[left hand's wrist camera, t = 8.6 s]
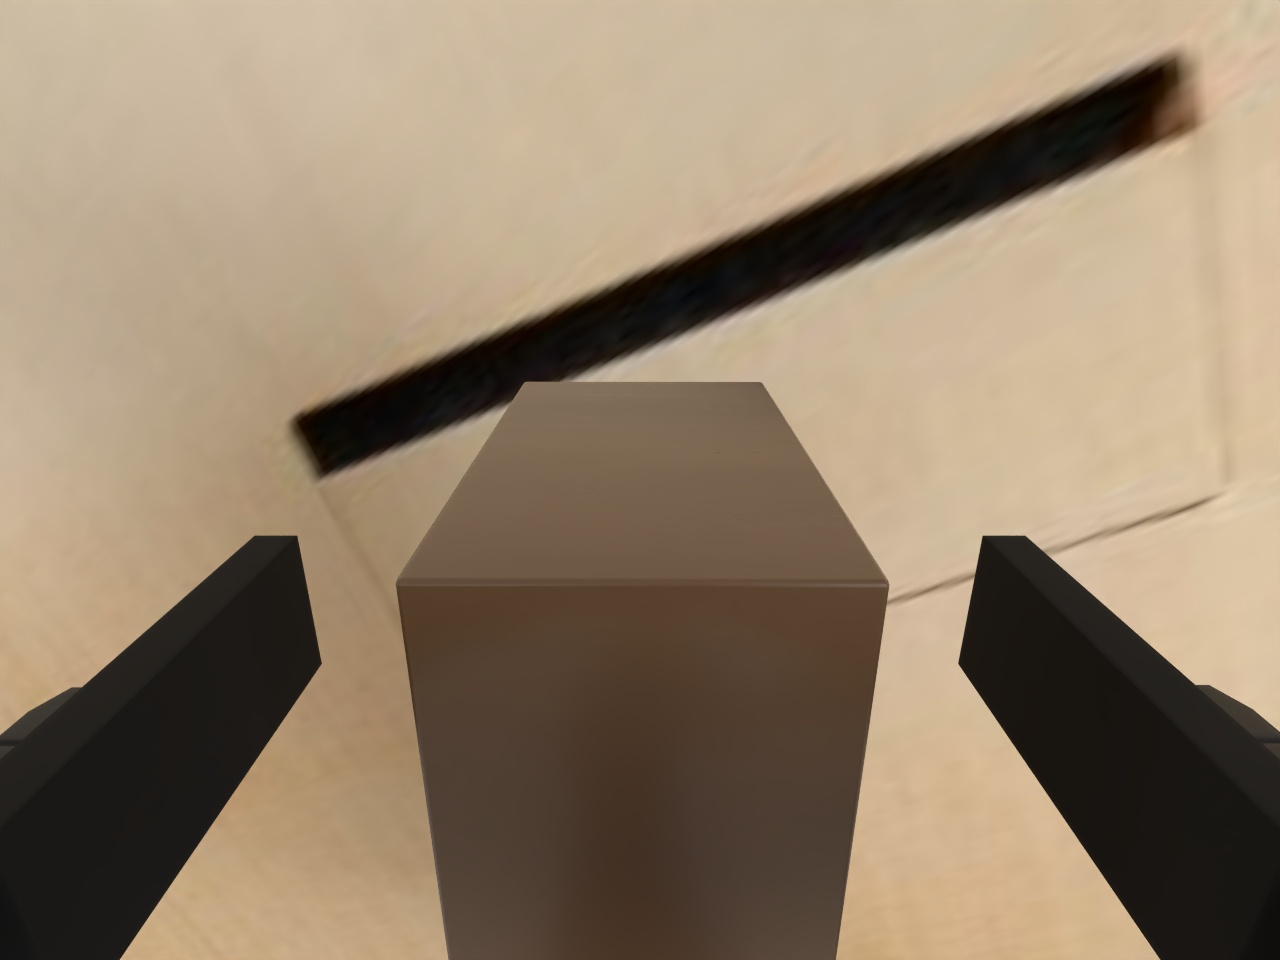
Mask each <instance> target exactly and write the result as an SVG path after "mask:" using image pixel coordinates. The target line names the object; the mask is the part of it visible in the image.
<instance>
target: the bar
mask: <svg viewBox="0 0 1280 960" xmlns="http://www.w3.org/2000/svg"><path fill="white" fill-rule="evenodd" d="M396 588H397V595H398V602H399V609H400V616H401V624H402V631H403V638H404V645H405V652H406V659H407V666H408V674H409V681H410V688H411V695H412V702H413V709H414V716H415V723H416V731H417V738H418V745H419V752H420V759H421V766H422V773H423V781H424V788H425V795H426V802H427V809H428V816H429V823H430V830H431V838H432V845H433V852H434V859H435V866H436V873H437V880H438V887H439V895H440V902H441V909H442V916H443V923H444V930H445V937H446V945H447V952H448V959H449V960H836V954H837V947H838V940H839V933H840V926H841V919H842V912H843V905H844V898H845V891H846V884H847V877H848V870H849V863H850V856H851V849H852V842H853V835H854V828H855V821H856V814H857V807H858V800H859V793H860V786H861V779H862V772H863V765H864V758H865V751H866V744H867V737H868V730H869V723H870V716H871V709H872V702H873V695H874V688H875V681H876V674H877V667H878V660H879V653H880V646H881V639H882V632H883V625H884V618H885V611H886V604H887V597H888V590H889V582H888V580H887V578H886V577H885V575H884V574H883V572H882V570H881V569H880V567H879V566H878V564H877V563H876V561H875V559H874V558H873V556H872V555H871V553H870V552H869V550H868V548H867V547H866V545H865V544H864V542H863V541H862V539H861V537H860V536H859V534H858V533H857V531H856V530H855V528H854V526H853V525H852V523H851V522H850V520H849V519H848V517H847V515H846V514H845V512H844V511H843V509H842V508H841V506H840V504H839V503H838V501H837V500H836V498H835V497H834V495H833V493H832V492H831V490H830V489H829V487H828V486H827V484H826V482H825V481H824V479H823V478H822V476H821V475H820V473H819V471H818V470H817V468H816V467H815V465H814V464H813V462H812V460H811V459H810V457H809V456H808V454H807V453H806V451H805V449H804V448H803V446H802V445H801V443H800V442H799V440H798V438H797V437H796V435H795V434H794V432H793V431H792V429H791V427H790V426H789V424H788V423H787V421H786V420H785V418H784V416H783V415H782V413H781V412H780V410H779V409H778V407H777V405H776V404H775V402H774V401H773V399H772V398H771V396H770V394H769V393H768V391H767V390H766V388H765V387H764V385H763V383H761V382H525V383H524V384H523V386H522V387H521V389H520V390H519V392H518V393H517V395H516V396H515V398H514V399H513V401H512V403H511V404H510V406H509V407H508V409H507V410H506V412H505V413H504V415H503V417H502V418H501V420H500V421H499V423H498V424H497V426H496V427H495V429H494V430H493V432H492V434H491V435H490V437H489V438H488V440H487V441H486V443H485V444H484V446H483V447H482V449H481V451H480V452H479V454H478V455H477V457H476V458H475V460H474V461H473V463H472V464H471V466H470V468H469V469H468V471H467V472H466V474H465V475H464V477H463V478H462V480H461V481H460V483H459V485H458V486H457V488H456V489H455V491H454V492H453V494H452V495H451V497H450V498H449V500H448V502H447V503H446V505H445V506H444V508H443V509H442V511H441V512H440V514H439V515H438V517H437V519H436V520H435V522H434V523H433V525H432V526H431V528H430V529H429V531H428V532H427V534H426V536H425V537H424V539H423V540H422V542H421V543H420V545H419V546H418V548H417V549H416V551H415V553H414V554H413V556H412V557H411V559H410V560H409V562H408V563H407V565H406V566H405V568H404V570H403V571H402V573H401V574H400V576H399V577H398V579H397V582H396Z"/></svg>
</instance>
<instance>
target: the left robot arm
mask: <svg viewBox="0 0 1280 960" xmlns="http://www.w3.org/2000/svg"><path fill="white" fill-rule="evenodd" d="M321 664H322V663H321V658H320V652H319V647H318V642H317V637H316V631H315V626H314V621H313V616H312V610H311V605H310V600H309V595H308V590H307V584H306V579H305V574H304V569H303V563H302V558H301V553H300V548H299V543H298V537H297V536H254V537H253V538H252V539H251V540H249V541H248V542H247V543H246V544H245V545H244V546H243V547H241V548H240V549H239V550H238V551H237V552H236V553H235V554H233V555H232V556H231V557H230V558H229V559H228V560H227V561H225V562H224V563H223V564H222V565H221V566H220V567H219V568H217V569H216V570H215V571H214V572H213V573H212V574H211V575H209V576H208V577H207V578H206V579H205V580H204V581H203V582H202V583H200V584H199V585H198V586H197V587H196V588H195V589H194V590H192V591H191V592H190V593H189V594H188V595H187V596H186V597H184V598H183V599H182V600H181V601H180V602H179V603H178V604H176V605H175V606H174V607H173V608H172V609H171V610H170V611H168V612H167V613H166V614H165V615H164V616H163V617H162V618H160V619H159V620H158V621H157V622H156V623H155V624H154V625H153V626H151V627H150V628H149V629H148V630H147V631H146V632H145V633H143V634H142V635H141V636H140V637H139V638H138V639H137V640H135V641H134V642H133V643H132V644H131V645H130V646H129V647H127V648H126V649H125V650H124V651H123V652H122V653H121V654H119V655H118V656H117V657H116V658H115V659H114V660H113V661H112V662H110V663H109V664H108V665H107V666H106V667H105V668H104V669H102V670H101V671H100V672H99V673H98V674H97V675H96V676H94V677H93V678H92V679H91V680H90V681H89V682H88V683H86V684H85V685H84V686H83V687H82V688H70V689H68V690H66V691H65V692H63V693H61V694H59V695H58V696H56V697H54V698H52V699H50V700H49V701H47V702H45V703H43V704H41V705H40V706H38V707H36V708H34V709H32V710H31V711H29V712H27V713H26V714H25V715H24V716H23V717H22V718H20V719H19V720H18V721H17V722H16V723H14V724H13V725H12V726H11V727H10V728H8V729H7V730H6V731H5V732H4V733H2V734H1V735H0V960H120V958H121V957H122V955H123V954H124V952H125V951H126V950H127V948H128V947H129V945H130V944H131V942H132V941H133V939H134V938H135V936H136V935H137V933H138V932H139V931H140V929H141V928H142V926H143V925H144V923H145V922H146V920H147V919H148V917H149V916H150V914H151V913H152V911H153V910H154V909H155V907H156V906H157V904H158V903H159V901H160V900H161V898H162V897H163V895H164V894H165V892H166V891H167V890H168V888H169V887H170V885H171V884H172V882H173V881H174V879H175V878H176V876H177V875H178V873H179V872H180V870H181V869H182V868H183V866H184V865H185V863H186V862H187V860H188V859H189V857H190V856H191V854H192V853H193V851H194V850H195V849H196V847H197V846H198V844H199V843H200V841H201V840H202V838H203V837H204V835H205V834H206V832H207V831H208V829H209V828H210V827H211V825H212V824H213V822H214V821H215V819H216V818H217V816H218V815H219V813H220V812H221V810H222V809H223V808H224V806H225V805H226V803H227V802H228V800H229V799H230V797H231V796H232V794H233V793H234V791H235V790H236V788H237V787H238V786H239V784H240V783H241V781H242V780H243V778H244V777H245V775H246V774H247V772H248V771H249V769H250V768H251V767H252V765H253V764H254V762H255V761H256V759H257V758H258V756H259V755H260V753H261V752H262V750H263V749H264V747H265V746H266V745H267V743H268V742H269V740H270V739H271V737H272V736H273V734H274V733H275V731H276V730H277V728H278V727H279V726H280V724H281V723H282V721H283V720H284V718H285V717H286V715H287V714H288V712H289V711H290V709H291V708H292V706H293V705H294V704H295V702H296V701H297V699H298V698H299V696H300V695H301V693H302V692H303V690H304V689H305V687H306V686H307V685H308V683H309V682H310V680H311V679H312V677H313V676H314V674H315V673H316V671H317V670H318V668H319V667H320V665H321ZM958 664H959V666H960V667H961V668H962V670H963V671H964V673H965V674H966V676H967V677H968V679H969V680H970V682H971V683H972V685H973V686H974V687H975V689H976V690H977V692H978V693H979V695H980V696H981V698H982V699H983V701H984V702H985V704H986V705H987V707H988V708H989V709H990V711H991V712H992V714H993V715H994V717H995V718H996V720H997V721H998V723H999V724H1000V726H1001V727H1002V728H1003V730H1004V731H1005V733H1006V734H1007V736H1008V737H1009V739H1010V740H1011V742H1012V743H1013V745H1014V746H1015V747H1016V749H1017V750H1018V752H1019V753H1020V755H1021V756H1022V758H1023V759H1024V761H1025V762H1026V764H1027V765H1028V767H1029V768H1030V769H1031V771H1032V772H1033V774H1034V775H1035V777H1036V778H1037V780H1038V781H1039V783H1040V784H1041V786H1042V787H1043V788H1044V790H1045V791H1046V793H1047V794H1048V796H1049V797H1050V799H1051V800H1052V802H1053V803H1054V805H1055V806H1056V808H1057V809H1058V810H1059V812H1060V813H1061V815H1062V816H1063V818H1064V819H1065V821H1066V822H1067V824H1068V825H1069V827H1070V828H1071V829H1072V831H1073V832H1074V834H1075V835H1076V837H1077V838H1078V840H1079V841H1080V843H1081V844H1082V846H1083V847H1084V849H1085V850H1086V851H1087V853H1088V854H1089V856H1090V857H1091V859H1092V860H1093V862H1094V863H1095V865H1096V866H1097V868H1098V869H1099V870H1100V872H1101V873H1102V875H1103V876H1104V878H1105V879H1106V881H1107V882H1108V884H1109V885H1110V887H1111V888H1112V890H1113V891H1114V892H1115V894H1116V895H1117V897H1118V898H1119V900H1120V901H1121V903H1122V904H1123V906H1124V907H1125V909H1126V910H1127V911H1128V913H1129V914H1130V916H1131V917H1132V919H1133V920H1134V922H1135V923H1136V925H1137V926H1138V928H1139V929H1140V931H1141V932H1142V933H1143V935H1144V936H1145V938H1146V939H1147V941H1148V942H1149V944H1150V945H1151V947H1152V948H1153V950H1154V951H1155V952H1156V954H1157V955H1158V957H1159V958H1160V960H1280V732H1279V731H1278V730H1277V729H1276V728H1274V727H1273V726H1272V725H1271V724H1270V723H1268V722H1267V721H1266V720H1265V719H1264V718H1262V717H1261V716H1260V715H1259V714H1258V713H1256V712H1255V711H1254V710H1253V709H1251V708H1249V707H1248V706H1246V705H1244V704H1242V703H1240V702H1239V701H1237V700H1235V699H1233V698H1231V697H1230V696H1228V695H1226V694H1224V693H1222V692H1221V691H1219V690H1217V689H1215V688H1213V687H1212V686H1210V685H1195V684H1194V683H1192V682H1191V681H1190V680H1189V679H1188V678H1187V677H1186V676H1184V675H1183V674H1182V673H1181V672H1180V671H1179V670H1178V669H1176V668H1175V667H1174V666H1173V665H1172V664H1171V663H1170V662H1168V661H1167V660H1166V659H1165V658H1164V657H1163V656H1162V655H1161V654H1159V653H1158V652H1157V651H1156V650H1155V649H1154V648H1153V647H1151V646H1150V645H1149V644H1148V643H1147V642H1146V641H1145V640H1143V639H1142V638H1141V637H1140V636H1139V635H1138V634H1137V633H1135V632H1134V631H1133V630H1132V629H1131V628H1130V627H1129V626H1127V625H1126V624H1125V623H1124V622H1123V621H1122V620H1121V619H1119V618H1118V617H1117V616H1116V615H1115V614H1114V613H1113V612H1112V611H1110V610H1109V609H1108V608H1107V607H1106V606H1105V605H1104V604H1102V603H1101V602H1100V601H1099V600H1098V599H1097V598H1096V597H1094V596H1093V595H1092V594H1091V593H1090V592H1089V591H1088V590H1086V589H1085V588H1084V587H1083V586H1082V585H1081V584H1080V583H1078V582H1077V581H1076V580H1075V579H1074V578H1073V577H1072V576H1070V575H1069V574H1068V573H1067V572H1066V571H1065V570H1064V569H1063V568H1061V567H1060V566H1059V565H1058V564H1057V563H1056V562H1055V561H1053V560H1052V559H1051V558H1050V557H1049V556H1048V555H1047V554H1045V553H1044V552H1043V551H1042V550H1041V549H1040V548H1039V547H1037V546H1036V545H1035V544H1034V543H1033V542H1032V541H1031V540H1029V539H1028V538H1027V537H1026V536H983V537H982V542H981V548H980V553H979V558H978V563H977V569H976V574H975V579H974V584H973V589H972V595H971V600H970V605H969V610H968V616H967V621H966V626H965V631H964V637H963V642H962V647H961V652H960V657H959V663H958Z"/></svg>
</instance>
